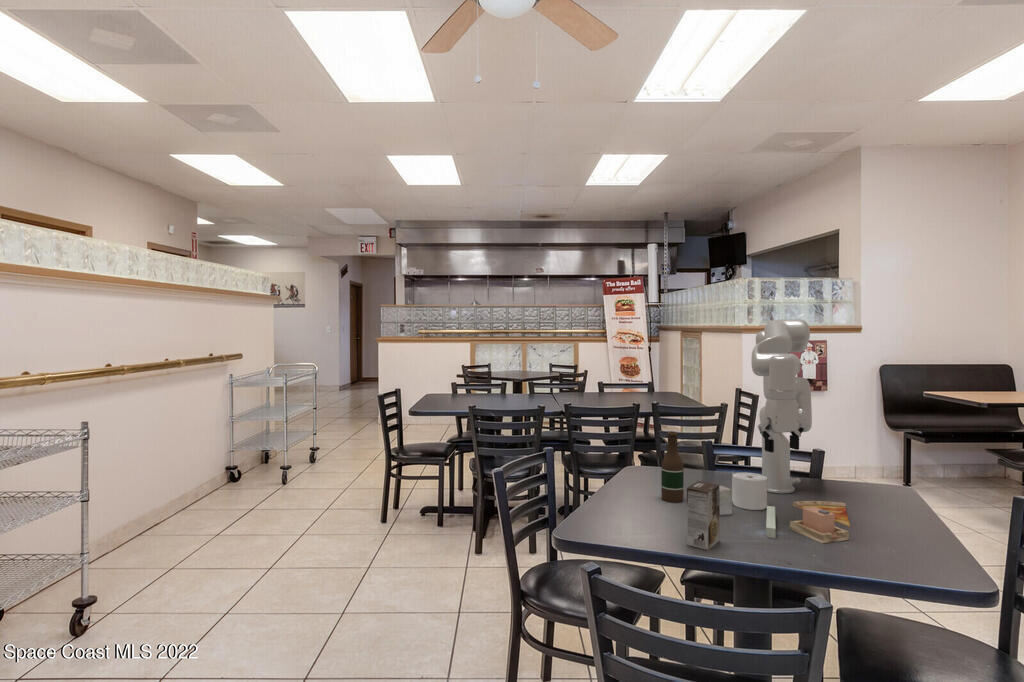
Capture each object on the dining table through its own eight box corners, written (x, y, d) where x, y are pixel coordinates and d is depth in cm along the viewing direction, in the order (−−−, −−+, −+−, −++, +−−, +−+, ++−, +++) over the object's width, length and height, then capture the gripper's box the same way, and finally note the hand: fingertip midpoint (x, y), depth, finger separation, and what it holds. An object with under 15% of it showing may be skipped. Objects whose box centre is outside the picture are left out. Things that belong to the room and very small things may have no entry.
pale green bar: (766, 514, 179) (766, 505, 179) (775, 515, 178) (775, 506, 178) (766, 537, 159) (766, 527, 159) (775, 538, 158) (775, 528, 158)
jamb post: (721, 509, 185) (721, 485, 184) (731, 514, 180) (731, 489, 180) (708, 510, 183) (708, 486, 183) (718, 515, 178) (718, 490, 178)
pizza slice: (792, 521, 174) (792, 514, 174) (793, 501, 194) (793, 496, 194) (850, 529, 167) (850, 522, 167) (845, 508, 187) (845, 502, 187)
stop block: (815, 526, 166) (815, 504, 165) (834, 534, 159) (834, 511, 159) (802, 528, 164) (802, 506, 164) (821, 536, 158) (822, 513, 157)
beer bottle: (686, 502, 192) (686, 433, 192) (664, 502, 192) (664, 434, 192) (680, 496, 200) (680, 430, 199) (658, 496, 200) (658, 430, 200)
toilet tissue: (762, 512, 181) (762, 482, 181) (725, 505, 188) (725, 476, 188) (770, 504, 190) (770, 475, 190) (733, 498, 197) (733, 470, 197)
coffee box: (698, 535, 161) (698, 480, 161) (720, 540, 157) (720, 484, 157) (685, 545, 154) (685, 487, 154) (708, 550, 150) (708, 491, 150)
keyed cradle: (815, 525, 168) (815, 518, 168) (848, 539, 157) (848, 531, 157) (789, 529, 166) (789, 521, 166) (822, 543, 154) (822, 535, 154)
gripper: (794, 392, 177) (794, 445, 178) (750, 395, 172) (750, 450, 173) (814, 395, 170) (813, 450, 171) (768, 398, 165) (768, 455, 166)
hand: (781, 450), depth 172 cm, fingers open, 9 cm apart
